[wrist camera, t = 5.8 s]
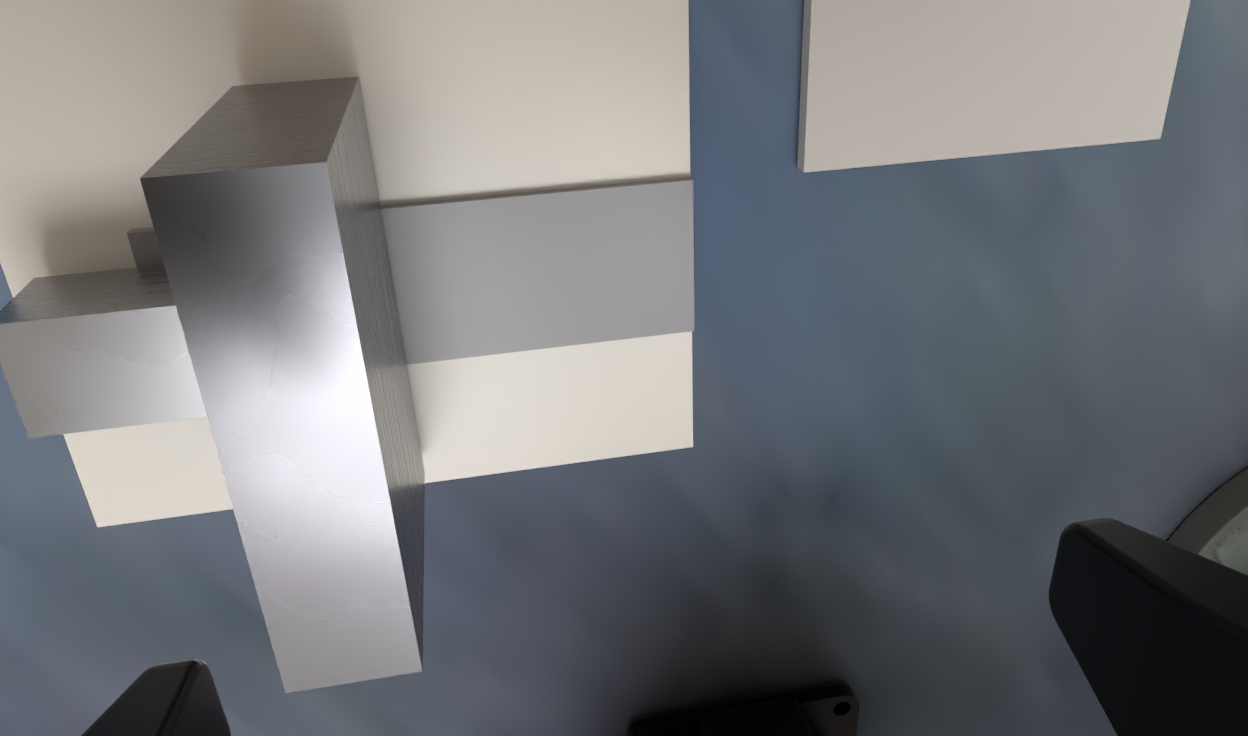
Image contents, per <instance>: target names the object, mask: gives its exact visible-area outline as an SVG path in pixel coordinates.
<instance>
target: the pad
mask: <svg viewBox="0 0 1248 736" xmlns="http://www.w3.org/2000/svg"><path fill="white" fill-rule="evenodd" d="M1190 1H1191V0H804V17H803V40H802V64H801V88H800V112H799V135H798V159H797V168H798V169H800V170H801V171H802V172H804V173H805V172H815V171H826V170H836V169H847V168H857V167H868V166H879V165H889V164H900V163H910V162H921V161H931V160H942V159H953V158H963V157H974V156H984V155H995V154H1005V153H1016V152H1027V151H1037V150H1048V149H1058V148H1069V147H1079V146H1090V145H1101V144H1111V143H1122V142H1132V141H1143V140H1153V139H1160V138H1161V134H1162V129H1163V124H1164V120H1165V115H1166V111H1167V106H1168V101H1169V97H1170V92H1171V88H1172V83H1173V79H1174V74H1175V69H1176V65H1177V60H1178V56H1179V51H1180V46H1181V42H1182V37H1183V33H1184V28H1185V24H1186V19H1187V14H1188V10H1189V5H1190Z"/></svg>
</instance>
